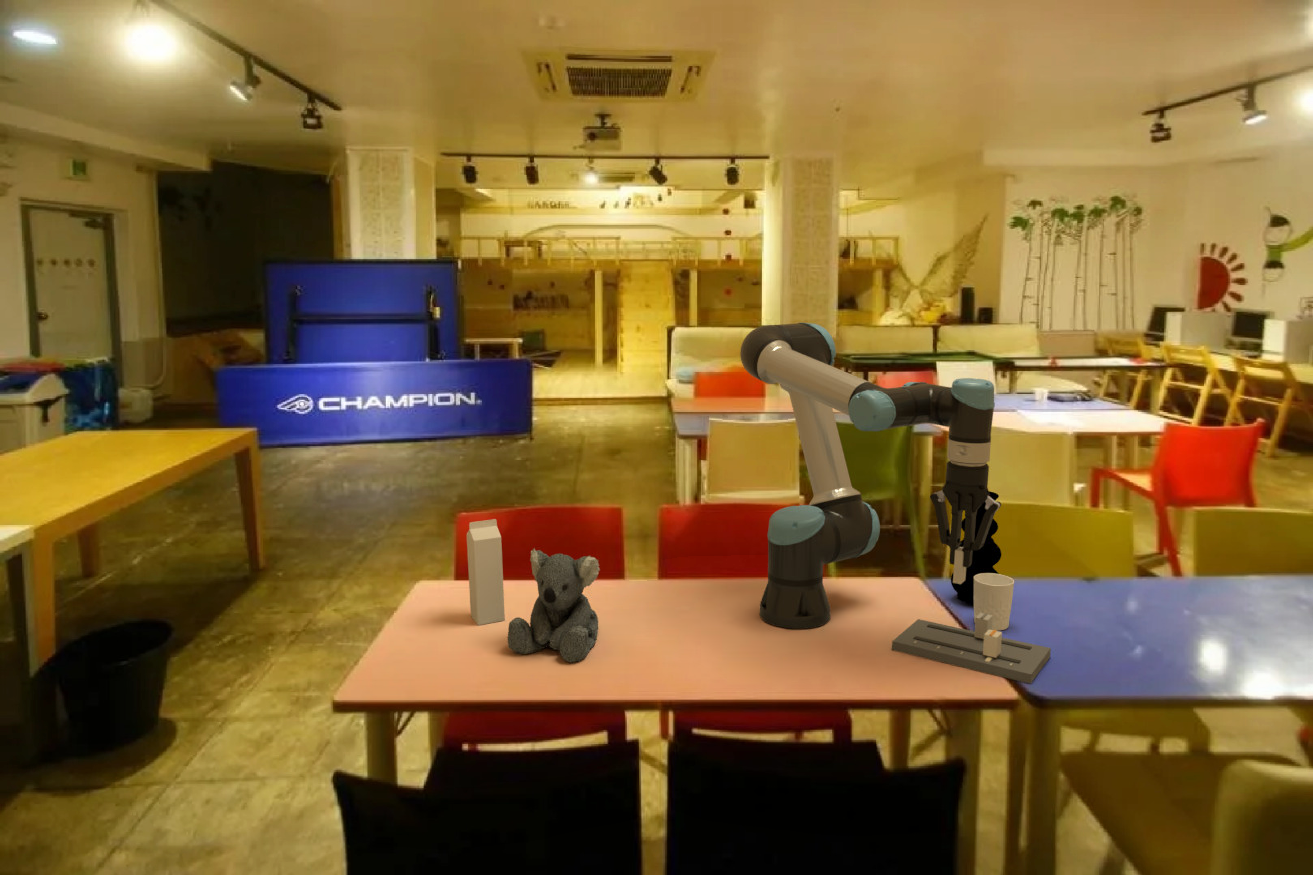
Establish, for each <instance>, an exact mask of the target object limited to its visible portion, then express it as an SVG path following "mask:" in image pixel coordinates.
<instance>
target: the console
mask: <svg viewBox="0 0 1313 875" xmlns="http://www.w3.org/2000/svg"><path fill="white" fill-rule="evenodd" d="M974 636H975V630H971V629H965V628H961V627H956V626H952V625H947V624H943V623H938V622H933V621H930V620H926V619H921V618H917V619H916V620H915V621H914V622H913V623H912V624H911V625H909V626H908V627H907V628H906V629H905V630H904V631H902V632H901V633H900V634H899V635H898V636H897V637H895V638H894V639H893V640H892V641H891V651H895V652H899V653H902V654H907V655H911V656H916V657H919V658H925V659H928V660H932V661H936V662H940V663H944V664H949V665H952V666H957V667H959V668H960V667H961V668H965V669H969V670H971V671H972V670H973V671H977V672H981V673H985V674H989V675H993V676H997V677H1000V678H1001V677H1002V678H1004V679H1005V678H1006V679H1008V680H1009V679H1010V680H1013V681H1016V682H1017V681H1018V682H1020V683H1021V682H1023V683H1026V684H1031V685H1032V683H1033V682H1034V680H1035V679H1036V678H1037V675H1038V674H1040V672H1041V671H1042V669H1043V668H1044V667H1045V665H1046V663H1048V661H1049V659H1050V658H1051V650H1052V649H1051V647H1048V646H1042V645H1038V644H1033V643H1029V642H1025V641H1020V640H1016V639H1011V638H1007V637H1002V641H1001V653H1000V654H999V655H998V656H997V657H996V658H995V657H991V656H986V655H983V644H984V639H982V638H977V637H974Z"/></svg>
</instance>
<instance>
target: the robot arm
mask: <svg viewBox="0 0 1313 875" xmlns="http://www.w3.org/2000/svg"><path fill="white" fill-rule="evenodd" d="M739 351H740V352H739V355H740V356H739V357H740V361H741V364H742V366H743V368H744V370H745V371H746V372H747V373H748V374H749V375H750V376H752V377H753V378H755V379H757V380H759V381H761V382H764V383H765V384H767V385H773V384H779V387H780V389H782V390H783V391H785V392H787V394H789V399H790V403H791V406H792V407H791V408H792V412H793V415H794V419H795V423H796V427H797V432H798V436H799V440H800V446H801V448H802V452H803V456H804V461H805V465H806V468H807V473H808V476H809V477H808V478H809V481H810V486H811V489H812V492H813V493H812V494H813V497H812V499H811V500H810V502H809V504H801V505H798V506H797V505H791V506H786V507H784V508H783V507H782V508H780V509H778V510H776V511H774V512H773V513H772V514H771V516H770V518H769V521H768V529H767V530H768V531H767V544H768V545H767V549H768V550H767V555H768V556H767V557H768V558H767V559H768V560H767V561H768V562H767V566H768V567H767V582H766V586H765V588H764V591H763V594H762V598H761V600H760V601H759V602H760V603H759V616H760V618H761V620H762V621H764V622H766V623H767V624H770V625H771V626H775V627H778V628H779V627H780V628H786V629H795V630H796V629H797V630H799V629H803V630H804V629H812V628H813V629H814V628H817V627H820V626H823V625H825V624H827V623H828V622H829V621H830V620H831V605H830V602H829V599H828V596H827V592H826V589H825V587H824V583H823V581H824V580H823V579H824V577H823V575H824V565H828V564H832V563H836V562H840V561H844V560H848V559H855V558H858V557H860V556H861V555H866V554H867V553H869V552H871V551H872V550H873V549H874V548H875V546H876V543H877V542H878V540H879V537H880V531H881V525H880V519H879V516H878V513H877V511H876V510H875V509H874V508H872V505H871V504H869V503H867V502H864V501H863V499H862V498H863V496H862V493H861V492H860V491H858V490H857V489H856V488H854V487H853V486H852V482H851V479H850V478H851V477H850V474H849V469H848V466H847V462H846V458H845V453H844V450H843V445H842V441H841V438H840V435H839V433H840V432H839V430H838V426H837V421H836V417H835V414H834V411H833V409H834V410H835V411H838V412H839V413H842V414H844V415H847V416H848V417H849V420H850V422H851V423H852V424H853V425H854V427H855V428H856V429H857V430H859V431H862V432H881V431H884V430H890V429H895V428H896V429H897V428H901V427H902V428H903V427H911V426H918V425H925V424H929V425H930V424H931V425H937V426H942V427H947V428H948V440H947V442H948V443H947V455H946V458H947V459H948V461H947V463H946V470H945V483H944V485H943V486H942V489H941V490H939V491H935V492H933V493H932V494H930V496H929V498H930V501H931V502H932V504H933V506H934V510H935V515H936V521H937V528H938V534H939V538H940V539H939V540H940V543H941V544H942V545H946V546H948V547H949V561H948V562H949V564H950V565H953V572H954V573H953V572H952V573H953V583H957V584H961V583H963V582H964V581H965V578H966V567H969V566H970V565H971V564H972V553H973V550H979V549H980V548H981V547H983V545H984V542H985V540H986V537H987V534H988V531H989V528H990V525H991V523H992V520H993V519H994V517H995V514H996V512H997V511H998V510H999V509H1000V508H1001V507H1002V503H1001V502H1000V501H999V500H996V501H994V500H993V499H992V498H991V497H990V496H989V495H990V494H989V491H990V490H989V488H988V484H989V472H990V471H989V470H990V465H989V464H988V463H989V462H990V456H991V445H992V443H991V442H992V426H993V419H994V412H995V411H994V409H995V385H994V383H993V382H992V381H991V380H987V379H983V378H969V377H968V378H967V377H966V378H965V377H964V378H963V377H962V378H956V379H954V380H953V381H952V383H951V387H950V386H945V385H939V384H931V383H927V382H925V381H919V382H917V381H909V382H905V383H904V384H903V385H902V386H899V387H889V388H886V387H883V386H882V385H881V386H880V385H878V384H875V383H872V382H870V381H868V380H866V379H864V378H860V377H859V376H856V375H855V374H851V373H849V372H846V371H844V370H842V369H839V368H837V367H835V366H833V365H834V364H835V359H834V358H836V355H837V352H836V351H837V348H836V345H835V341H834V339H833V337H832V335H831V334H830V332H829V331H828V330H827V329H826V328H825V327H823V326H821V325H820V324H818V323H809V322H808V323H807V322H798V323H786V324H785V323H783V324H766V325H762V326H758V327H756V328H754V329H752V330H751V331H750V332H748V333H747V334H746V336H745V338H744V339H743V341H742V343H741V346H740V350H739ZM946 499H947V501H948V503H949V505H950V506H951V509H950V513H951V514H950V515H951V520H950V522H951V523H949V517H948V511H947V505H946V503H945V501H946ZM984 502H986V505H985V509H986V510H987V511H986V512H985V514H984V516H983V519H982V522H981V525H980V528H979V531H978V534H977V536H976V539H975V542H974V537H975V523H976V514H977V509H978V508H979V507H980V506H981V505H982V504H983V503H984ZM963 514H964V518H965V531H963V533H964V534H963V538H964V545H963V547H959V545H960V544H961V543H960V541H962V540H961V538H962V537H961V536H962V528H961V527H962V520H963Z"/></svg>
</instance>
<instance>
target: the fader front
mask: <svg viewBox="0 0 1313 875" xmlns="http://www.w3.org/2000/svg"><path fill="white" fill-rule="evenodd" d="M1002 636H1003V632H1002V631H1000V630H998V631H997V630H990V629H989V630H988V631H987V632H986V633H985V634H984V644H983V655H986V656H991V657H995V658H996V657H997V656H998V655H999V654H1000V653H1001V641H1002V638H1003V637H1002Z"/></svg>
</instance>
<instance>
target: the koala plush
mask: <svg viewBox="0 0 1313 875" xmlns="http://www.w3.org/2000/svg"><path fill="white" fill-rule="evenodd" d="M529 561H530V562H531V563H530V564H531V570H532V573H531V575H533V576H534V580H535V583H537V591H538V597H537V598H536V599H535V601H534V604H533V607H532V610H531V613H530V620H529V621H530V622H527V620H525V619H524V618H522V617H520V616H519V617H517V616H516V617H514V618H513V619H511V621H509V623H508V628H507V629H508V630H507V631H508V632H507V637H506V638H507V647H508V648H509V649H510V650H511V651H513V652H514V653H516V654H521V655H527V654H532V653H536V652H539V651H541V650H543V649H546V648H548V647H550V648H551V649H552V650H555V651H559V654H560V656H561V658H562V660H564V661H565V662H566V663H567V662H568V663H575V662H580V661H582V660H583V659H584V658H586V657H587V655H588V653H590V651H591V648H593V647H594V646H595V645H596V643H597V641H598V640H597V638H598V636H599V634H598V633H599V631H598V630H599V618H598V614H597V613H596V611H595V610H593V609H592V607H591V606H592V605H591V604H590V602H589V598H588V597H587V596H586V595H585V594H583V592H584V590H585V588H587V587H590V586H591V585H592V584H593V583H594V582H595V580H597V578H598V575H599V572H600V571H601V569H600V567H599V566H600V564H599V559H597V558H596V557H593V556H591V555H588V556H586V555H585V556H581V557H579V558H578V559H574V558H573V557H571V556H570V555H568V554H563V553H555V554H552V555H550V556H549V555H548V554H547V553H544V552H543V551H542V550H539V549H538V550H536V548H535V547H534V548H533V549H532V550H531V551H530V559H529Z"/></svg>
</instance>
